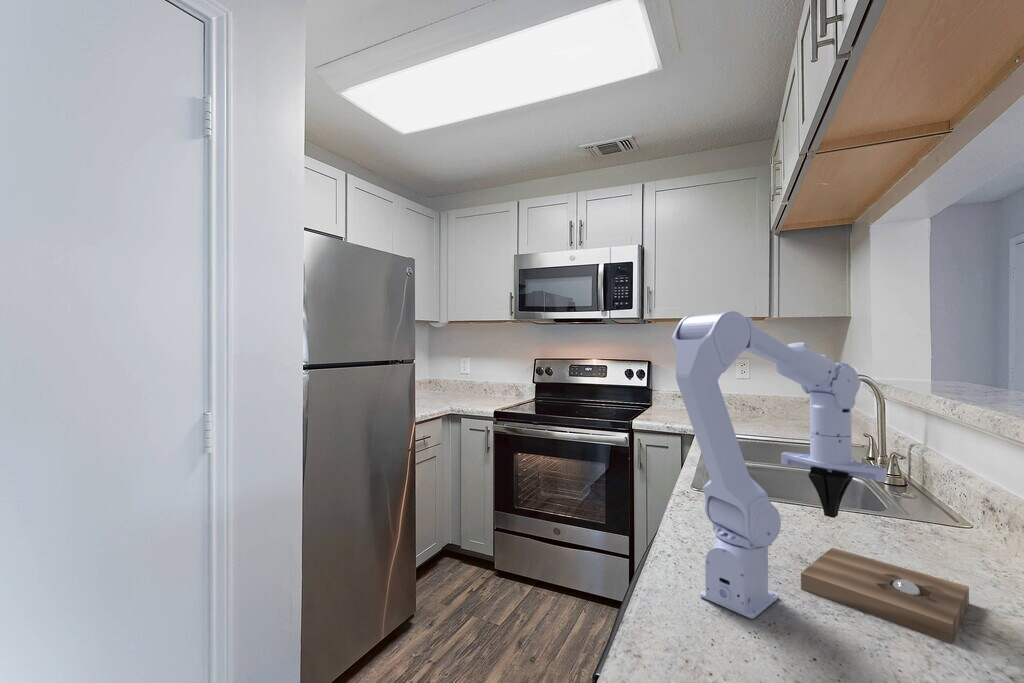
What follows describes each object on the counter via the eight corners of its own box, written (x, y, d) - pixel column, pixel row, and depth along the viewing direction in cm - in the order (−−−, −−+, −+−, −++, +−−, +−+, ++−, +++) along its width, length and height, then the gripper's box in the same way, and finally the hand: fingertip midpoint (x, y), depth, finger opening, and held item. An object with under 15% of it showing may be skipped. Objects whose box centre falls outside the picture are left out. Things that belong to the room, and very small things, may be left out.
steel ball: (917, 579, 67) (888, 579, 69) (928, 606, 65) (898, 606, 67) (913, 579, 70) (885, 579, 71) (923, 605, 68) (894, 605, 70)
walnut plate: (952, 643, 59) (952, 624, 59) (800, 588, 73) (800, 573, 73) (969, 603, 69) (968, 586, 69) (832, 561, 82) (832, 547, 82)
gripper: (891, 437, 73) (892, 522, 73) (792, 425, 85) (792, 499, 84) (879, 443, 69) (880, 533, 69) (776, 429, 80) (776, 507, 80)
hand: (831, 515), depth 76 cm, fingers closed
